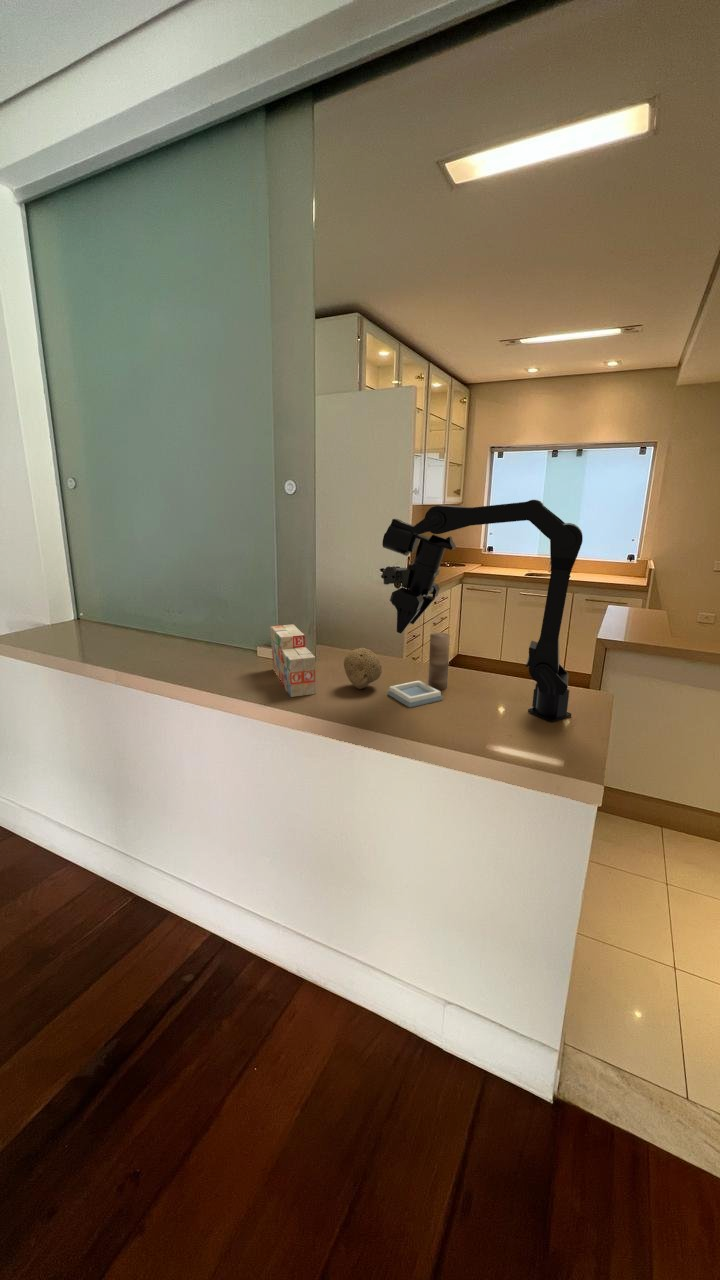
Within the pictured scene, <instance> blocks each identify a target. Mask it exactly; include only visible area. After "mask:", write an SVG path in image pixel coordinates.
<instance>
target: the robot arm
mask: <svg viewBox="0 0 720 1280" xmlns="http://www.w3.org/2000/svg"><path fill="white" fill-rule="evenodd" d="M522 521H528V522H530V523H531V524H532V525H533V526H534V527H535V528H536V529H538V530H539V531H540V532H541V533H542V534H543V535H544V536H545V537H546V538H547V539H548V540H549V542H550V544H549V545H550V546H549V550H550V553H549V555H550V576H549V582H548V588H547V594H546V600H545V606H544V611H543V616H542V617H543V618H542V624H541V629H540V636H539V637H538V641H534V640H531V641H530V644H529V647H528V658H527V661H526V663H525V668H527V667H528V674H529V675H528V676H529V677H531V679H532V680H533V681H535V682H536V683H535V685H534V686H535V688H534V689H533V693H532V694H533V696H532V704H531V705H532V707H531V708H530V707H529V708H528V709H527V712H528V713H530V714H532V715H533V716H537V717H539V718H541V719H543V720H545V721H548V722H550V723H554V722H556V721H561V720H563V718H564V719H566V717H567V718H569V716H570V717H572V715H573V714H572V713H571V712H569V711H568V705H569V697H570V689H568V688H569V687H568V686H569V673H568V672H567V670H566V669H565V668H564V666H562V665H561V664H560V640H559V639H560V633H561V632H560V631H561V626H562V620H563V617H564V616H563V614H564V609H565V604H566V598H567V592H568V587H569V582H570V577H571V573H572V570H573V568H574V565H575V563H576V560H577V558H578V555H579V552H580V550H581V548H582V544H583V539H584V538H583V537H584V536H583V531H582V530H581V528H580V527H579V526H578V525H576V524H574V523H571V522H565V521H563V520H562V519H561V518H560V517H559V516H557V515H556V514H555V513H554V512H553V511H551V510H550V509H549V508H547V507H546V506H545V505H544V503H543V502H542V501H541V500H538V499H531V500H527V501H522V502H521V501H520V502H511V503H502V504H493V505H483V506H472V507H471V506H461V505H460V506H459V505H448V504H447V505H446V504H444V505H443V504H442V505H435V506H432V507H430V508H429V509H428V510H427V511H426V513H425V514H424V518H423V519H422V520H420V521H419V522H417V523H416V524H415V525H413V524H411V523H408V522H405V521H403V520H401V519H399V518H392V520H391V522H390V524H389V526H388V527H387V530H386V531H385V532H384V534H383V538H382V544H381V545H382V548H383V549H386V550H389V551H391V552H392V551H393V552H394V553H398V554H400V555H403V556H406V557H408V556H409V555H410V554H414V553H415V555H414V558H413V561H412V563H410V564H408V565H407V567H396V566H386V567H385V568H384V569H382V571H381V572H382V574H381V575H380V577H381V579H383V585H390V584H391V585H393V584H394V585H397V584H399V585H401V586H400V588H398V589H396V590H394V591H393V592H392V591H391V595H390V598H389V601H390V602H391V604H392V605H393V606H394V608H395V609H396V632H397V633H398V634H402V633H404V631H405V630H406V628H407V627H408V626H409V625H410V624H411V625H414V624H415V623H416V622H417V621H418V619H419V618H420V617H421V616H422V614H424V613H425V611H426V610H427V609H428V608H429V606H430V605H431V604H432V603H433V602H434V601H435V599H436V598H437V597H438V596H439V593H440V591H441V588H440V586H439V584H438V583H435V581H436V577H437V576H438V575H439V574H440V571H441V570H440V566H441V563H442V560H443V558H444V557H443V556H444V553H445V550H446V549H447V550H449V551H452V550H454V549H457V548H456V547H457V546H456V544H455V543H454V540H453V538H452V537H453V536H451V535H450V536H448V537H445V538H444V537H441V536H439V535H441V534H444V533H449V532H452V531H456V530H460V529H464V528H466V527H470V526H478V525H479V526H480V525H489V524H490V525H491V524H501V523H503V524H504V523H511V522H512V523H513V522H522ZM427 533H431V536H430V537H429V536H425V535H423V534H427ZM431 595H432V596H431Z"/></svg>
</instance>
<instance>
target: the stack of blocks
mask: <svg viewBox="0 0 720 1280" xmlns="http://www.w3.org/2000/svg"><path fill="white" fill-rule="evenodd" d="M269 627H270V643H271V645H270V646H271V654H272V655H271V657H272V660H271V663H272V669H273V668H274V669H275V672H276V673H277V676H278V677H279V679H281V681H282V683H283V684H282V683H281V684H282V686H283V685H284V686H285V687H284V686H283V687H284V690H285V692H287V694H288V695H289V697H290V698H293V697H303V696H309V695H316V656H315V655H314V654H313V653H312V652H311V651H310V650H309V649H308V648H307V647H306V635H305V633H303V632H301V630H300V629H299V628H298V627H297V626H296V625H295V624H294V623H293V624H283V625H274V626H273V625H271V626H269ZM275 672H274V673H275ZM277 676H276V677H277ZM278 677H277V678H278ZM279 679H278V680H279ZM281 681H280V682H281Z"/></svg>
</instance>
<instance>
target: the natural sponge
mask: <svg viewBox="0 0 720 1280" xmlns="http://www.w3.org/2000/svg"><path fill="white" fill-rule="evenodd" d="M343 667H344V672H345V674H346V677H347V679H348V680H349V682H350V683H351V684H352V685H353V686H354V687H355V688H356V689H358V690H361V689H365V688H366V687H368V685H369V684H372V683H374V682H376V681H377V680H379V679H380V677H381V675H382V672H383V668H382V664H381V662H380V659H379V657H378V656H377V654H375V652H373V651H372V650H370V649H368V648H365V647H360V648H354V649H352V650H351V651H349V652H348V653H347V654H346V656H344V660H343Z"/></svg>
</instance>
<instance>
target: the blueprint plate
mask: <svg viewBox="0 0 720 1280" xmlns="http://www.w3.org/2000/svg"><path fill="white" fill-rule="evenodd" d="M441 693H442V692H441V690H437V689H435V688H433V687H431V686H429V685H428V683H425V682H424V681H421V680H415V681H409V682H405V683H401V684H395V685H391V686H389V689H388V690H387V696H390V697H392V698H393V699H395V700H396V701H398V702H400V703H402V704H403V705H405V706H406V707H408V708H414V707H418V706H423V705H427V704H432V703H435V702H436V703H437V702H439V701H442V700H443V695H441Z"/></svg>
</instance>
